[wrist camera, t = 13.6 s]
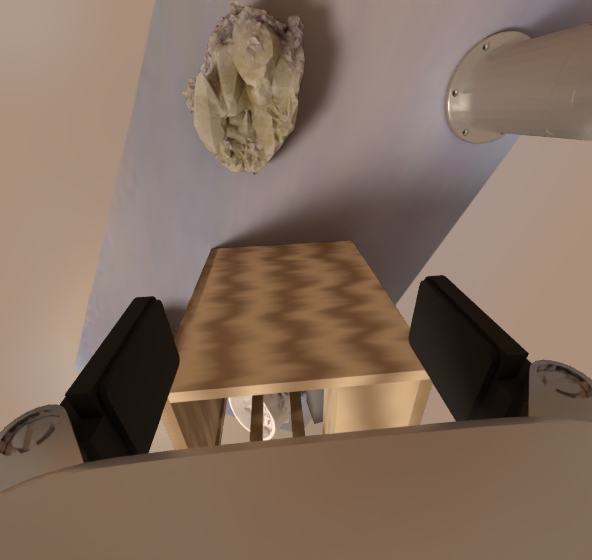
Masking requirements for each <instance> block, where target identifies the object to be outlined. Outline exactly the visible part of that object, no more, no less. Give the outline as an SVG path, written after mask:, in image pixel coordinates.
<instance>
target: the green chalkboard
mask: <svg viewBox="0 0 592 560" xmlns="http://www.w3.org/2000/svg"><path fill="white" fill-rule="evenodd" d="M307 404H308V407H309V409H310V412H311V415H312V418H313V421H314V423H315V424H316V423H319V422H323V406H324V389H317V390H307Z"/></svg>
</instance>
